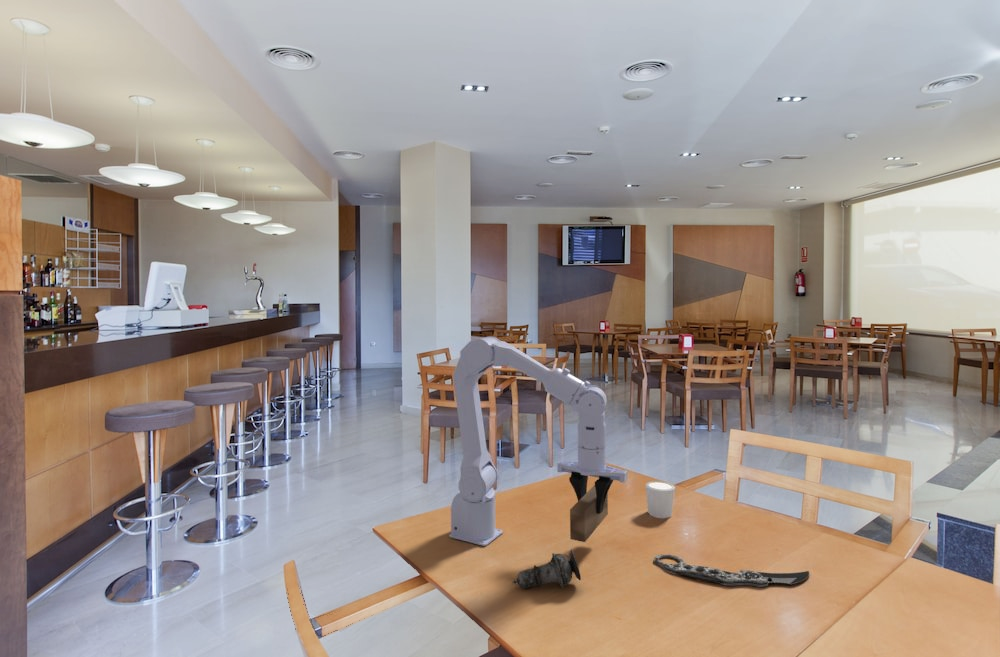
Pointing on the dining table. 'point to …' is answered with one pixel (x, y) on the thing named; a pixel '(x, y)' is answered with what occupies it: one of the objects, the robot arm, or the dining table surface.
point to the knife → (729, 574)
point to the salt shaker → (550, 572)
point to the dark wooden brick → (586, 516)
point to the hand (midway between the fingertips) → (591, 510)
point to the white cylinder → (660, 499)
